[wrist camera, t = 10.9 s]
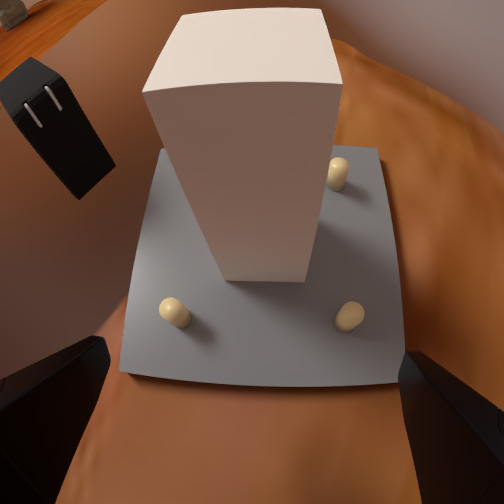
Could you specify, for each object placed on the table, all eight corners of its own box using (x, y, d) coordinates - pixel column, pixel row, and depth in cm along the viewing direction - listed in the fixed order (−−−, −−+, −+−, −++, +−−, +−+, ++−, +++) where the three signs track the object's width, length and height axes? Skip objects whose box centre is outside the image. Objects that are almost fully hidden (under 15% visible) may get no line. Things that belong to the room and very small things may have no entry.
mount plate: (399, 382, 16) (420, 379, 13) (126, 372, 17) (102, 368, 15) (373, 156, 22) (382, 129, 20) (165, 156, 24) (153, 130, 21)
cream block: (304, 282, 18) (342, 84, 6) (224, 280, 18) (142, 92, 6) (303, 212, 20) (320, 9, 8) (230, 211, 20) (182, 15, 8)
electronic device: (73, 127, 27) (29, 54, 18) (119, 169, 24) (63, 75, 15) (43, 154, 26) (-9, 86, 17) (81, 204, 23) (11, 120, 14)
